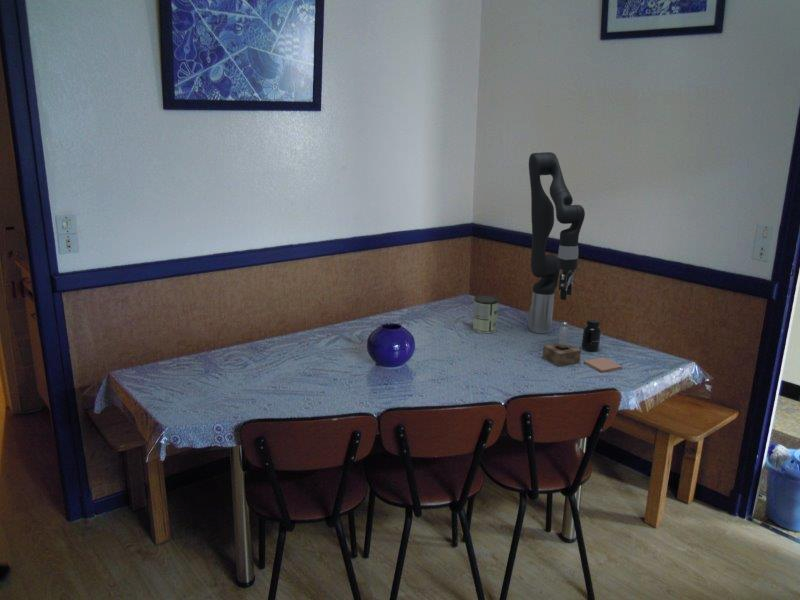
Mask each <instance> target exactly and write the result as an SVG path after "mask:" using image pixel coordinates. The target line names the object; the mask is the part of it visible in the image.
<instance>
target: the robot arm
mask: <svg viewBox="0 0 800 600" xmlns="http://www.w3.org/2000/svg"><path fill="white" fill-rule="evenodd" d="M528 174H529V175H528V176H529V183H530V197H531V201H530V202H531V203H530V204H531V205H530V206H531V207H530V208H531V215H530V217H531V253H530V270H531V273H532V275H533V276H534V277H535V278H537V279H538V278H540V279H539V280H538V281H537V282H535V283H534V284H533V286H532V293H531V306H530V307H529V312H528V322H527V323H528V325H527V329H529V331H530V332H532V333H535V334H536V333H537V334H549V333H551V331H552V323H553V314H554V302H555V293H556V289H557V286H558V285H559V286H558V290H559V291H560V295H559V298H560V301H566V300H567V296H571V295H572V291H573V290H572V289H573V288H572V287H573V285H574V282H575V280H574V279H575V271H576V270H578V267H579V266H578V263H579V236H580V232H581V229H582V226H583V223H584V220H585V216H586V212H585V208H584V206H583V205H581V204H573V201H574V199H573V197H572V194H571V192H570V191H569V188H568V187H567V185H566V183H565V180H564V175H563V172H562V168H561V166H560V162H559V159H558V157H557V155H556V154H555V153H554V152H552V151H549V152H548V151H547V152H546V151H545V152H532V153H531V154H530V155H529V158H528ZM541 176H551V177H552V181H551V183H550V186H549V195H550V197H551V199H550V197H549V196H548V195H547V193H546V191H545V189H544V188H543V185H542V180H541ZM551 200H552V201H553V202H552V201H551ZM553 204H554V205H553ZM554 206H555V207H554ZM555 215H556V216H555ZM555 217H556V221H557V222H558V223H559V224H563V225H568V224H571V225H570V226H569V227H567V228H565V229H562V230H561V231H560V233H559V245H558V246H559V247H558V250H557V251H558V254H557V255H558V256H557V255H555V254H546V246H547V245H546V244H547V242H548V239H549V236H550V234H551V233H552V230H553V227H554V225H555ZM560 270H562V271H561V272H562V273H561V274H560ZM558 283H559V284H558Z"/></svg>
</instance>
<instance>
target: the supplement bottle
mask: <svg viewBox="0 0 800 600" xmlns="http://www.w3.org/2000/svg"><path fill="white" fill-rule="evenodd" d="M586 321H587V322H586V325H585V326H584V327H583V332H582V340H581V349H582V350H584V351H586V352H594V353H595V352H598V351H599V349H600V343H601V334H602V329H601V327H600V323H601V322H600V320H599V319H595V318H588V319H587V320H586Z"/></svg>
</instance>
